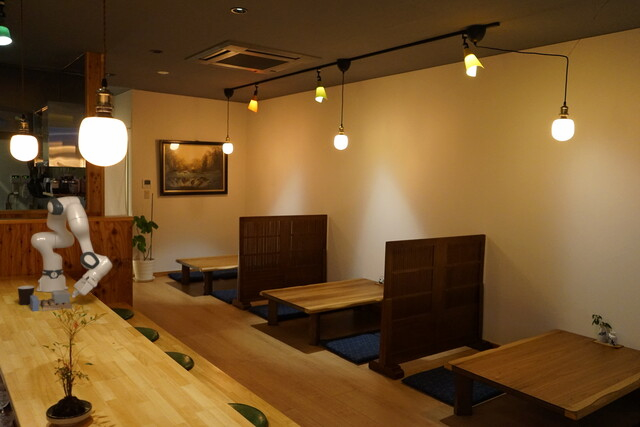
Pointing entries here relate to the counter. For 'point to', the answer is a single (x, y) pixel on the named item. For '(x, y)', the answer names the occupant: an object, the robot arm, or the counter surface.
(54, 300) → the slab
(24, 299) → the coffee mug
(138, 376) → the counter surface
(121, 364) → the counter surface
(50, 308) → the roller bed
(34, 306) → the stop block
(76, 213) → the robot arm
